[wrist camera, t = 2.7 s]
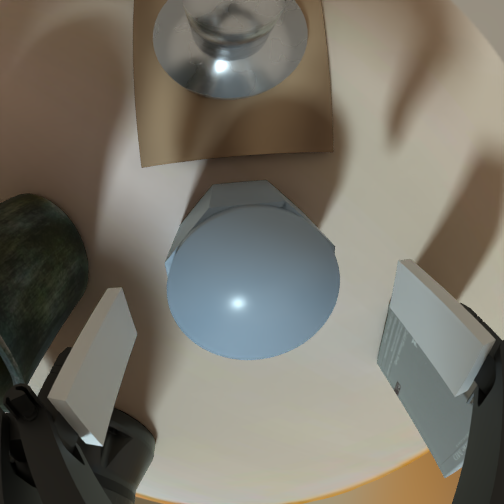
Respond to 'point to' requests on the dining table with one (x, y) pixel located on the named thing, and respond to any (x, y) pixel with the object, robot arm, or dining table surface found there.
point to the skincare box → (426, 396)
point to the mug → (35, 283)
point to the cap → (250, 273)
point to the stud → (229, 45)
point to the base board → (230, 104)
